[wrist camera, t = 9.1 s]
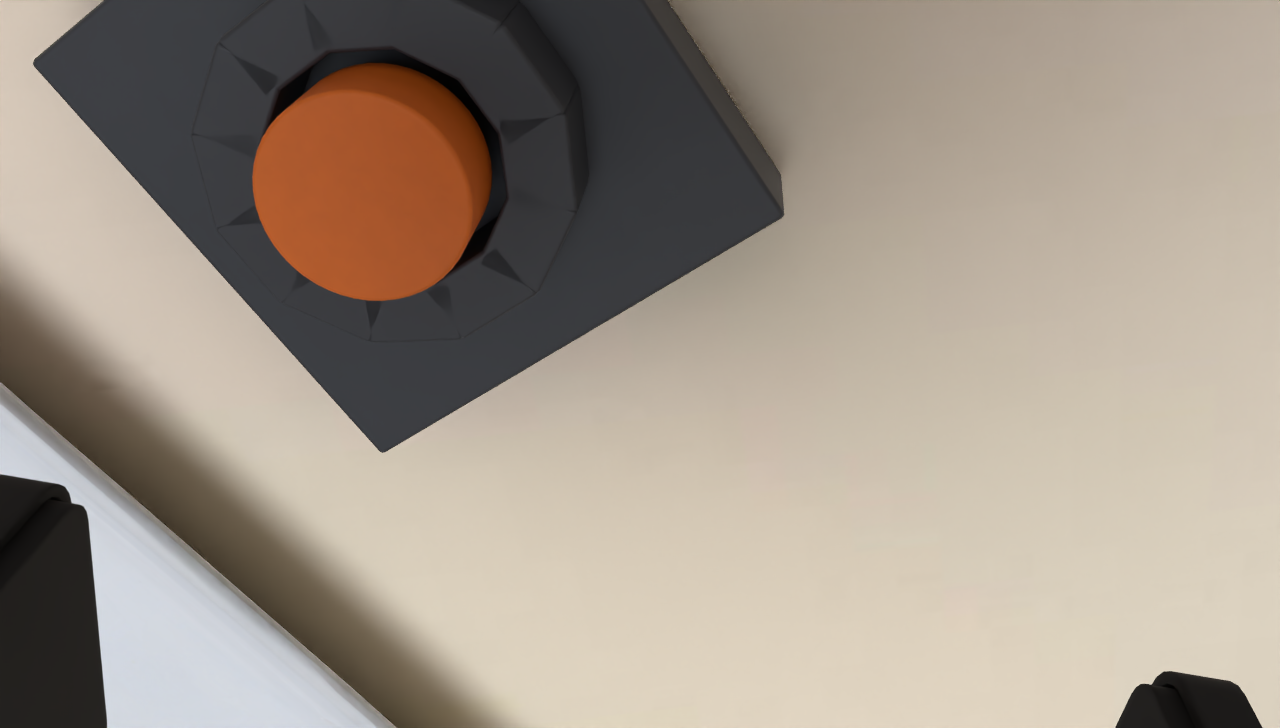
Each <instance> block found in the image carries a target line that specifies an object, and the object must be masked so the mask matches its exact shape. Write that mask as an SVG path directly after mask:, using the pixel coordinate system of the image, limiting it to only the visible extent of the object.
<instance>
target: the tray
mask: <svg viewBox="0 0 1280 728" xmlns="http://www.w3.org/2000/svg"><path fill="white" fill-rule="evenodd" d="M0 474H2V475H8V476H14V477H20V478H26V479H32V480H38V481H44V482H50V483H56V484H60V485H62V486H65V487H66V489H67V490H68V492H69V494H70V498H71V502H72V503H74V504H79V505H82V506H84V508H85V510H86V511H87V515H88V521H89V531H90V542H91V553H92V564H93V574H94V585H95V596H96V607H97V618H98V628H99V639H100V650H101V661H102V671H103V682H104V693H105V704H106V714H107V728H397V727H395V726H394V725H393V724H392V723H391V722H390V721H389V720H388V719H386V718H385V717H384V716H383V715H382V714H381V713H380V712H379V711H377V710H376V709H375V708H374V707H373V706H372V705H371V704H370V703H369V702H367V701H366V700H365V699H364V698H363V697H362V696H361V695H360V694H358V693H357V692H356V691H355V690H354V689H353V688H352V687H351V686H349V685H348V684H347V683H346V682H345V681H344V680H343V679H341V678H340V677H339V676H338V675H337V674H336V673H335V672H333V671H332V670H331V669H330V668H329V667H328V666H327V665H325V664H324V663H323V662H322V661H321V660H320V659H318V658H317V657H316V656H315V655H314V654H313V653H312V652H310V651H309V650H308V649H307V648H306V647H305V646H304V645H302V644H301V643H300V642H299V641H298V640H297V639H295V638H294V637H293V636H292V635H291V634H290V633H289V632H287V631H286V630H285V629H284V628H283V627H282V626H281V625H279V624H278V623H277V622H276V621H275V620H274V619H272V618H271V617H270V616H269V615H268V614H267V613H266V612H264V611H263V610H262V609H261V608H260V607H259V606H258V605H256V604H255V603H254V602H253V601H252V600H251V599H250V598H248V597H247V596H246V595H245V594H244V593H243V592H241V591H240V590H239V589H238V588H237V587H236V586H235V585H233V584H232V583H231V582H230V581H229V580H228V579H227V578H225V577H224V576H223V575H222V574H221V573H220V572H218V571H217V570H216V569H215V568H214V567H213V566H212V565H210V564H209V563H208V562H207V561H206V560H205V559H204V558H202V557H201V556H200V555H199V554H198V553H197V552H195V551H194V550H193V549H192V548H191V547H190V546H189V545H187V544H186V543H185V542H184V541H183V540H182V539H181V538H179V537H178V536H177V535H176V534H175V533H174V532H172V531H171V530H170V529H169V528H168V527H167V526H166V525H164V524H163V523H162V522H161V521H160V520H159V519H158V518H156V517H155V516H154V515H153V514H152V513H151V512H150V511H148V510H147V509H146V508H145V507H144V506H143V505H141V504H140V503H139V502H138V501H137V500H136V499H134V498H133V497H132V496H131V495H130V494H129V493H128V492H126V491H125V490H124V489H123V488H122V487H121V486H119V485H118V484H117V483H116V482H115V481H114V480H112V479H111V478H110V477H109V476H108V475H107V474H106V473H104V472H103V471H102V470H101V469H100V468H99V467H97V466H96V465H95V464H94V463H93V462H92V461H90V460H89V459H88V458H87V457H86V456H85V455H84V454H82V453H81V452H80V451H79V450H78V449H77V448H75V447H74V446H73V445H72V444H71V443H70V442H68V441H67V440H66V439H65V438H64V437H63V436H62V435H60V434H59V433H58V432H57V431H56V430H55V429H53V428H52V427H51V426H50V425H49V424H48V423H46V422H45V421H44V420H43V419H42V418H41V417H40V416H38V415H37V414H36V413H35V412H34V411H33V410H31V409H30V408H29V407H28V406H27V405H26V404H25V403H23V402H22V401H21V400H20V399H19V398H18V397H17V396H16V395H15V394H13V393H12V392H11V391H10V390H9V389H8V388H7V387H6V386H4V385H3V384H2V383H1V382H0Z"/></svg>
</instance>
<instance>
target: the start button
mask: <svg viewBox="0 0 1280 728" xmlns="http://www.w3.org/2000/svg"><path fill="white" fill-rule="evenodd" d="M252 180H253V194H254V200H255V205H256V209H257V212H258V215H259V218H260V221H261V223H262V225H263V227H264V230H265V232H266V234H267V235H268V237H269V238H270V240H271V242H272V243H273V245H274V246H275V248H276V249H277V250H278V251H279V253H280V254H281V255H282V256H283V257H284V258H285V260H286V261H287V262H288V263H289V264H290V265H291V266H292V267H294V268H295V269H296V270H297V271H298V272H300V273H301V274H302V275H303V276H305V277H306V278H308V279H309V280H311V281H312V282H314V283H315V284H317V285H319V286H321V287H323V288H325V289H327V290H329V291H332V292H334V293H337V294H340V295H343V296H347V297H351V298H354V299H361V300H368V301H385V300H395V299H400V298H404V297H408V296H412V295H414V294H417V293H419V292H422V291H424V290H426V289H427V288H429V287H431V286H433V285H434V284H436V283H437V282H438V281H440V280H441V279H442V278H444V277H445V276H446V275H447V274H448V273H449V272H450V271H451V270H452V269H453V267H454V266H455V264H456V263H457V262H458V260H459V259H460V257H461V256H462V254H463V252H464V250H465V248H466V246H467V244H468V242H469V240H470V239H471V237H472V235H473V233H474V231H475V229H476V227H477V225H478V224H479V222H480V220H481V218H482V216H483V214H484V212H485V210H486V207H487V204H488V201H489V197H490V192H491V185H492V168H491V159H490V155H489V150H488V147H487V144H486V141H485V138H484V135H483V133H482V131H481V129H480V127H479V125H478V123H477V122H476V120H475V119H474V117H473V116H472V114H471V113H470V111H469V110H468V109H467V108H466V106H465V105H464V104H463V103H462V102H461V100H460V99H458V98H457V97H456V96H455V95H454V94H453V93H452V92H451V91H450V90H449V89H447V88H446V87H444V86H443V85H442V84H440V83H439V82H438V81H436V80H434V79H432V78H431V77H429V76H427V75H425V74H423V73H420V72H418V71H416V70H413V69H410V68H407V67H403V66H399V65H394V64H387V63H365V64H357V65H353V66H349V67H346V68H342V69H340V70H338V71H335V72H333V73H331V74H329V75H328V76H326V77H325V78H323V79H321V80H320V81H319V82H317V83H316V84H315V85H314V86H313V87H311V88H310V89H309V90H308V91H307V92H305V93H304V94H303V95H302V96H301V97H300V98H298V99H297V100H296V101H295V102H294V103H292V104H291V105H290V106H289V107H288V108H286V109H285V110H284V111H283V112H282V113H281V114H280V115H278V116H277V117H276V119H275V120H274V121H273V122H272V123H271V125H270V126H269V127H268V129H267V130H266V132H265V134H264V135H263V137H262V139H261V142H260V144H259V146H258V149H257V152H256V156H255V160H254V165H253V176H252Z"/></svg>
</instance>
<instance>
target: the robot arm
mask: <svg viewBox="0 0 1280 728" xmlns="http://www.w3.org/2000/svg"><path fill="white" fill-rule="evenodd" d="M0 728H107V714H106V704H105V693H104V682H103V671H102V661H101V650H100V639H99V628H98V618H97V607H96V596H95V585H94V574H93V564H92V553H91V542H90V531H89V521H88V515H87V511H86V510H85V508H84V506H82V505H79V504H74V503H72V502H71V498H70V494H69V492H68V490H67V489H66V487H65V486H62V485H60V484H56V483H50V482H44V481H38V480H32V479H26V478H20V477H14V476H8V475H2V474H0ZM1115 728H1262V726H1261V724H1260V722H1259V720H1258V719H1257V717H1256V715H1255V713H1254V711H1253V709H1252V707H1251V705H1250V703H1249V702H1248V700H1247V698H1246V696H1245V694H1244V693H1243V692H1242V690H1241V689H1240V687H1239V686H1238V685H1236V684H1234V683H1233V682H1231V681H1226V680H1220V679H1214V678H1208V677H1202V676H1196V675H1190V674H1184V673H1178V672H1172V671H1168V672H1163V673H1161V674H1160V675H1159V676H1157V677H1156V679H1155V680H1154V682H1153V684H1152V685H1149V684H1140V685H1139V686H1137V687H1136V688H1135V690H1134V691H1133V693H1132V694H1131V696H1130V698H1129V700H1128V702H1127V704H1126V707H1125V709H1124V711H1123V713H1122V715H1121V717H1120V719H1119V721H1118V723H1117V725H1116V727H1115Z"/></svg>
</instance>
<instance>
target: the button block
mask: <svg viewBox="0 0 1280 728" xmlns="http://www.w3.org/2000/svg"><path fill="white" fill-rule="evenodd" d="M365 63H387V64H394V65H399V66H403V67H407V68H410V69H413V70H416V71H418V72H420V73H423V74H425V75H427V76H429V77H431V78H432V79H434V80H436V81H438V82H439V83H440V84H442V85H443V86H444V87H446V88H447V89H449V90H450V91H451V92H452V93H453V94H454V95H455V96H456V97H457V98H458V99H460V100H461V102H462V103H463V104H464V105H465V106H466V108H467V109H468V110H469V111H470V113H471V114H472V116H473V117H474V119H475V120H476V122H477V123H478V125H479V127H480V129H481V131H482V133H483V135H484V138H485V141H486V144H487V147H488V150H489V155H490V159H491V168H492V185H491V192H490V197H489V201H488V204H487V207H486V210H485V212H484V214H483V216H482V218H481V220H480V222H479V224H478V225H477V227H476V229H475V231H474V233H473V235H472V237H471V239H470V240H469V242H468V244H467V246H466V248H465V250H464V252H463V254H462V256H461V257H460V259H459V260H458V262H457V263H456V264H455V266H454V267H453V269H452V270H451V271H450V272H449V273H448V274H447V275H446V276H445V277H444V278H442V279H441V280H440V281H438V282H437V283H436V284H434V285H433V286H431V287H429V288H427V289H426V290H424V291H422V292H419V293H417V294H414V295H412V296H408V297H404V298H400V299H395V300H385V301H368V300H361V299H354V298H351V297H347V296H343V295H340V294H337V293H334V292H332V291H329V290H327V289H325V288H323V287H321V286H319V285H317V284H315V283H314V282H312V281H311V280H309V279H308V278H306V277H305V276H303V275H302V274H301V273H300V272H298V271H297V270H296V269H295V268H294V267H292V266H291V265H290V264H289V263H288V262H287V261H286V260H285V258H284V257H283V256H282V255H281V254H280V253H279V251H278V250H277V249H276V248H275V246H274V245H273V243H272V242H271V240H270V238H269V237H268V235H267V234H266V232H265V230H264V227H263V225H262V223H261V221H260V218H259V215H258V212H257V209H256V205H255V200H254V194H253V180H252V176H253V165H254V160H255V156H256V152H257V149H258V146H259V144H260V142H261V139H262V137H263V135H264V134H265V132H266V130H267V129H268V127H269V126H270V125H271V123H272V122H273V121H274V120H275V119H276V117H277V116H278V115H280V114H281V113H282V112H283V111H284V110H285V109H286V108H288V107H289V106H290V105H291V104H292V103H294V102H295V101H296V100H297V99H298V98H300V97H301V96H302V95H303V94H304V93H305V92H307V91H308V90H309V89H310V88H311V87H313V86H314V85H315V84H316V83H317V82H319V81H320V80H321V79H323V78H325V77H326V76H328V75H329V74H331V73H333V72H335V71H338V70H340V69H342V68H346V67H349V66H353V65H357V64H365ZM33 65H34V67H35V68H36V69H37V70H38V71H39V72H40V73H41V74H42V76H43V77H44V78H45V79H46V80H47V81H48V82H49V83H50V84H51V86H52V87H53V88H54V89H55V90H56V91H57V92H58V93H59V94H60V96H61V97H62V98H63V99H64V100H65V101H66V102H67V103H68V105H69V106H70V107H71V108H72V109H73V110H74V111H75V112H76V113H77V115H78V116H79V117H80V118H81V119H82V120H83V121H84V122H85V123H86V125H87V126H88V127H89V128H90V129H91V130H92V131H93V132H94V133H95V135H96V136H97V137H98V138H99V139H100V140H101V141H102V142H103V144H104V145H105V146H106V147H107V148H108V149H109V150H110V151H111V152H112V154H113V155H114V156H115V157H116V158H117V159H118V160H119V161H120V162H121V164H122V165H123V166H124V167H125V168H126V169H127V170H128V171H129V172H130V174H131V175H132V176H133V177H134V178H135V179H136V180H137V181H138V183H139V184H140V185H141V186H142V187H143V188H144V189H145V190H146V191H147V193H148V194H149V195H150V196H151V197H152V198H153V199H154V200H155V201H156V203H157V204H158V205H159V206H160V207H161V208H162V209H163V210H164V211H165V213H166V214H167V215H168V216H169V217H170V218H171V219H172V220H173V222H174V223H175V224H176V225H177V226H178V227H179V228H180V229H181V230H182V232H183V233H184V234H185V235H186V236H187V237H188V238H189V239H190V240H191V242H192V243H193V244H194V245H195V246H196V247H197V248H198V249H199V250H200V252H201V253H202V254H203V255H204V256H205V257H206V258H207V259H208V261H209V262H210V263H211V264H212V265H213V266H214V267H215V268H216V269H217V271H218V272H219V273H220V274H221V275H222V276H223V277H224V278H225V279H226V281H227V282H228V283H229V284H230V285H231V286H232V287H233V288H234V289H235V291H236V292H237V293H238V294H239V295H240V296H241V297H242V298H243V300H244V301H245V302H246V303H247V304H248V305H249V306H250V307H251V308H252V310H253V311H254V312H255V313H256V314H257V315H258V316H259V317H260V318H261V320H262V321H263V322H264V323H265V324H266V325H267V326H268V327H269V328H270V330H271V331H272V332H273V333H274V334H275V335H276V336H277V337H278V339H279V340H280V341H281V342H282V343H283V344H284V345H285V346H286V347H287V349H288V350H289V351H290V352H291V353H292V354H293V355H294V356H295V357H296V359H297V360H298V361H299V362H300V363H301V364H302V365H303V366H304V367H305V369H306V370H307V371H308V372H309V373H310V374H311V375H312V376H313V378H314V379H315V380H316V381H317V382H318V383H319V384H320V385H321V386H322V388H323V389H324V390H325V391H326V392H327V393H328V394H329V395H330V396H331V398H332V399H333V400H334V401H335V402H336V403H337V404H338V405H339V406H340V408H341V409H342V410H343V411H344V412H345V413H346V414H347V415H348V417H349V418H350V419H351V420H352V421H353V422H354V423H355V424H356V425H357V427H358V428H359V429H360V430H361V431H362V432H363V433H364V434H365V435H366V437H367V438H368V439H369V440H370V441H371V442H372V443H373V444H374V446H375V447H376V448H377V449H378V450H379V451H380V452H382V453H383V452H386V451H388V450H389V449H391V448H393V447H395V446H396V445H398V444H400V443H401V442H403V441H405V440H406V439H408V438H410V437H411V436H413V435H415V434H417V433H418V432H420V431H422V430H423V429H425V428H427V427H428V426H430V425H432V424H434V423H435V422H437V421H439V420H440V419H442V418H444V417H445V416H447V415H449V414H450V413H452V412H454V411H456V410H457V409H459V408H461V407H462V406H464V405H466V404H467V403H469V402H471V401H472V400H474V399H476V398H478V397H479V396H481V395H483V394H484V393H486V392H488V391H489V390H491V389H493V388H495V387H496V386H498V385H500V384H501V383H503V382H505V381H506V380H508V379H510V378H511V377H513V376H515V375H517V374H518V373H520V372H522V371H523V370H525V369H527V368H528V367H530V366H532V365H533V364H535V363H537V362H539V361H540V360H542V359H544V358H545V357H547V356H549V355H550V354H552V353H554V352H555V351H557V350H559V349H561V348H562V347H564V346H566V345H567V344H569V343H571V342H572V341H574V340H576V339H578V338H579V337H581V336H583V335H584V334H586V333H588V332H589V331H591V330H593V329H594V328H596V327H598V326H600V325H601V324H603V323H605V322H606V321H608V320H610V319H611V318H613V317H615V316H616V315H618V314H620V313H622V312H623V311H625V310H627V309H628V308H630V307H632V306H633V305H635V304H637V303H639V302H640V301H642V300H644V299H645V298H647V297H649V296H650V295H652V294H654V293H655V292H657V291H659V290H661V289H662V288H664V287H666V286H667V285H669V284H671V283H672V282H674V281H676V280H677V279H679V278H681V277H683V276H684V275H686V274H688V273H689V272H691V271H693V270H694V269H696V268H698V267H699V266H701V265H703V264H705V263H706V262H708V261H710V260H711V259H713V258H715V257H716V256H718V255H720V254H722V253H723V252H725V251H727V250H728V249H730V248H732V247H733V246H735V245H737V244H738V243H740V242H742V241H744V240H745V239H747V238H749V237H750V236H752V235H754V234H755V233H757V232H759V231H760V230H762V229H764V228H766V227H767V226H769V225H771V224H772V223H774V222H776V221H777V220H779V219H781V218H782V217H783V216H784V205H783V193H782V181H781V174H780V173H779V171H778V170H777V168H776V167H775V165H774V164H773V162H772V161H771V159H770V158H769V156H768V154H767V153H766V151H765V150H764V148H763V147H762V145H761V144H760V142H759V141H758V139H757V138H756V136H755V135H754V133H753V131H752V130H751V128H750V127H749V125H748V124H747V122H746V121H745V119H744V118H743V116H742V115H741V113H740V112H739V110H738V108H737V107H736V105H735V104H734V102H733V101H732V99H731V98H730V96H729V95H728V93H727V92H726V90H725V88H724V87H723V85H722V84H721V82H720V81H719V79H718V78H717V76H716V75H715V73H714V72H713V70H712V69H711V67H710V65H709V64H708V62H707V61H706V59H705V58H704V56H703V55H702V53H701V52H700V50H699V49H698V47H697V46H696V44H695V42H694V41H693V39H692V38H691V36H690V35H689V33H688V32H687V30H686V29H685V27H684V26H683V24H682V23H681V21H680V19H679V18H678V16H677V15H676V13H675V12H674V10H673V9H672V7H671V6H670V4H669V3H668V1H667V0H104V1H103V2H102V3H100V4H99V5H98V6H97V7H96V8H95V9H93V10H92V11H91V12H90V13H89V14H87V15H86V16H85V17H84V18H83V19H82V20H80V21H79V22H78V23H77V24H76V25H74V26H73V27H72V28H71V29H70V30H69V31H67V32H66V33H65V34H64V35H63V36H61V37H60V38H59V39H58V40H57V41H56V42H54V43H53V44H52V45H51V46H50V47H48V48H47V49H46V50H45V51H44V52H43V53H41V54H40V55H39V56H38V57H37V58H35V60H34V62H33Z"/></svg>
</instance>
